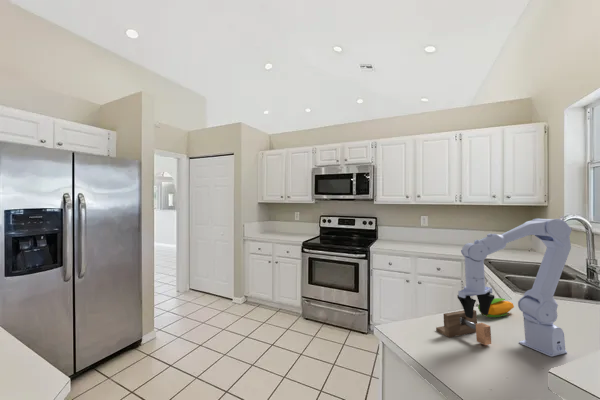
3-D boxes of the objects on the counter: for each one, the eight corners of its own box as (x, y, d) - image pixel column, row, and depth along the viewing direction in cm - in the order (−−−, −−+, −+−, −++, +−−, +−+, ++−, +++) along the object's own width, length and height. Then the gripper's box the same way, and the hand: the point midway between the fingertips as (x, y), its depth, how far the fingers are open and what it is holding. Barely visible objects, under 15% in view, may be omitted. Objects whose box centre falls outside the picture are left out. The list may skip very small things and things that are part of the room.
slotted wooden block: (477, 331, 99) (476, 310, 99) (449, 337, 95) (447, 315, 95) (463, 325, 104) (462, 305, 105) (436, 330, 100) (435, 309, 101)
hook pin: (491, 343, 88) (490, 326, 88) (484, 345, 87) (483, 327, 88) (458, 328, 100) (457, 312, 101) (452, 329, 100) (451, 313, 100)
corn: (472, 298, 114) (503, 292, 121) (472, 315, 115) (503, 308, 121) (489, 304, 107) (520, 298, 114) (489, 322, 107) (520, 315, 114)
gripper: (478, 272, 98) (479, 308, 97) (450, 276, 93) (451, 314, 92) (497, 277, 91) (499, 315, 90) (468, 281, 86) (470, 322, 85)
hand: (476, 315), depth 91 cm, fingers open, 7 cm apart
